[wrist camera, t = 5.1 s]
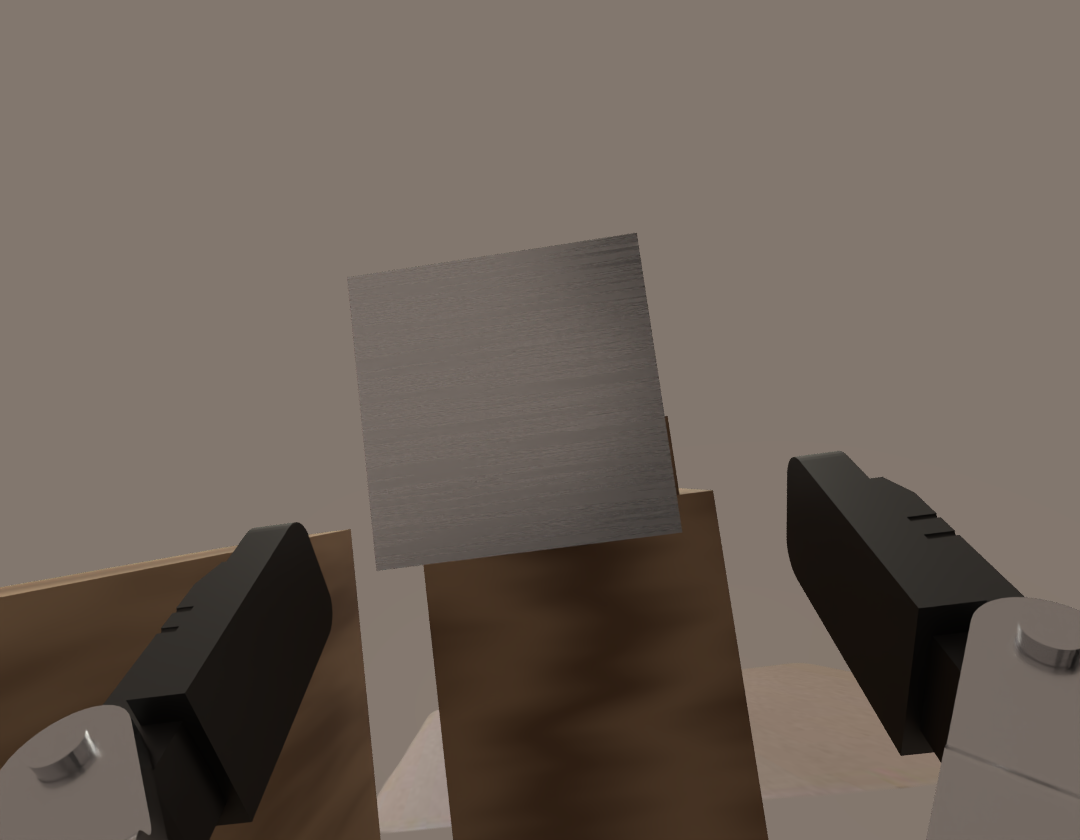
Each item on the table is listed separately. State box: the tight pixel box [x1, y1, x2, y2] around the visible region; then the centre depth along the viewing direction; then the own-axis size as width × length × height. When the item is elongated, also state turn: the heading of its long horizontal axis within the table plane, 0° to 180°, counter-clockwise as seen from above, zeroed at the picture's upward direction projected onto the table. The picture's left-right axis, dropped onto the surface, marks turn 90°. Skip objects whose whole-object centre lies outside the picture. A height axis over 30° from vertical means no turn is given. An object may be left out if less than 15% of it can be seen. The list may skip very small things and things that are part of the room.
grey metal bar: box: [347, 233, 682, 571], centre depth 20 cm, size 25×4×5 cm, turn 176°
